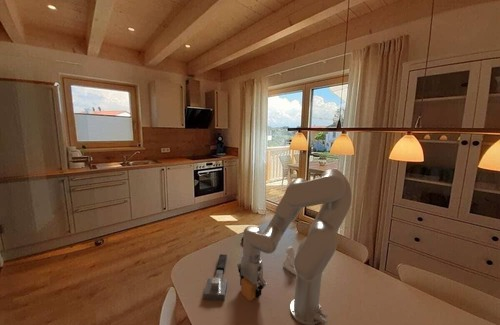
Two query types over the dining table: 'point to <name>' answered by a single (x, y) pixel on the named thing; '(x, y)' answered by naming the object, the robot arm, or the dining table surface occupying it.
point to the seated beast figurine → (290, 260)
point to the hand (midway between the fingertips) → (250, 289)
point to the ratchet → (217, 282)
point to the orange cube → (248, 289)
